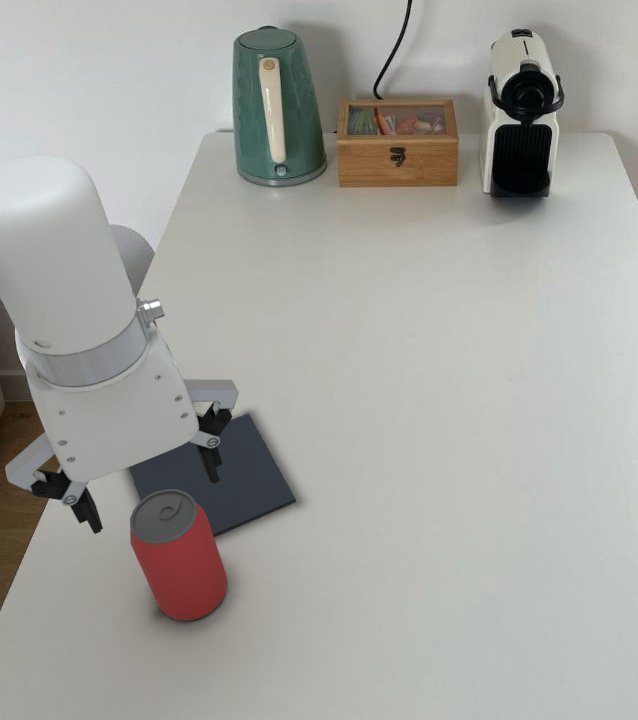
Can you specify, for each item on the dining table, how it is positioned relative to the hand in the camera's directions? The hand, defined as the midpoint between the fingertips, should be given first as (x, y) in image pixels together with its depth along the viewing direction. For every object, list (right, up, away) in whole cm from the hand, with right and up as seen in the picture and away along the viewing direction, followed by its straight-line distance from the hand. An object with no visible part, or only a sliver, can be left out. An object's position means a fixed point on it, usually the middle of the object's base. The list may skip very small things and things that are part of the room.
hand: (154, 495), depth 66 cm
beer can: (+1, -11, +10) cm, 15 cm away
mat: (0, -2, +20) cm, 20 cm away
